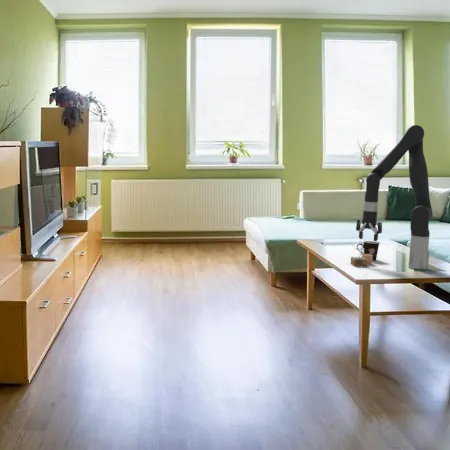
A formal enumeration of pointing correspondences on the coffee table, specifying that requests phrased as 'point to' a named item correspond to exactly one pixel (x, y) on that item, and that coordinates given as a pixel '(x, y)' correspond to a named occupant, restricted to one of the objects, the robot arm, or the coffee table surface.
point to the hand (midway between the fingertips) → (367, 239)
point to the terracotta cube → (368, 258)
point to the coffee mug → (370, 248)
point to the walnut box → (359, 261)
